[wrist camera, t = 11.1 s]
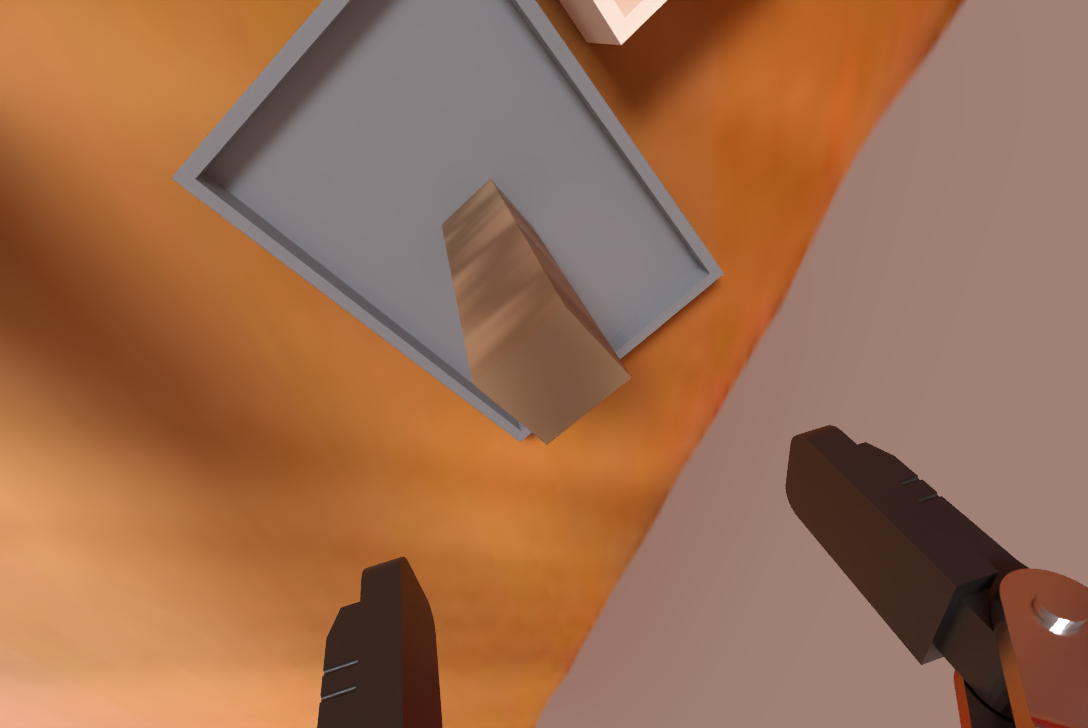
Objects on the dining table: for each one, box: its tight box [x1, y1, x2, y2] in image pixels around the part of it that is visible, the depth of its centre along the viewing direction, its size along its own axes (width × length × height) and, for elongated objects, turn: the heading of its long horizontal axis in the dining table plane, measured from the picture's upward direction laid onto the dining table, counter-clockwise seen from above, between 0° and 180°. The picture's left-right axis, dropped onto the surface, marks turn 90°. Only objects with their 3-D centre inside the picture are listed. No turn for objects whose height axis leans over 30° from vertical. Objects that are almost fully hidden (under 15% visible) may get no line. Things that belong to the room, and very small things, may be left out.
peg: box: [442, 179, 632, 444], centre depth 21 cm, size 3×3×14 cm
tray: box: [172, 0, 724, 442], centre depth 26 cm, size 15×21×2 cm
